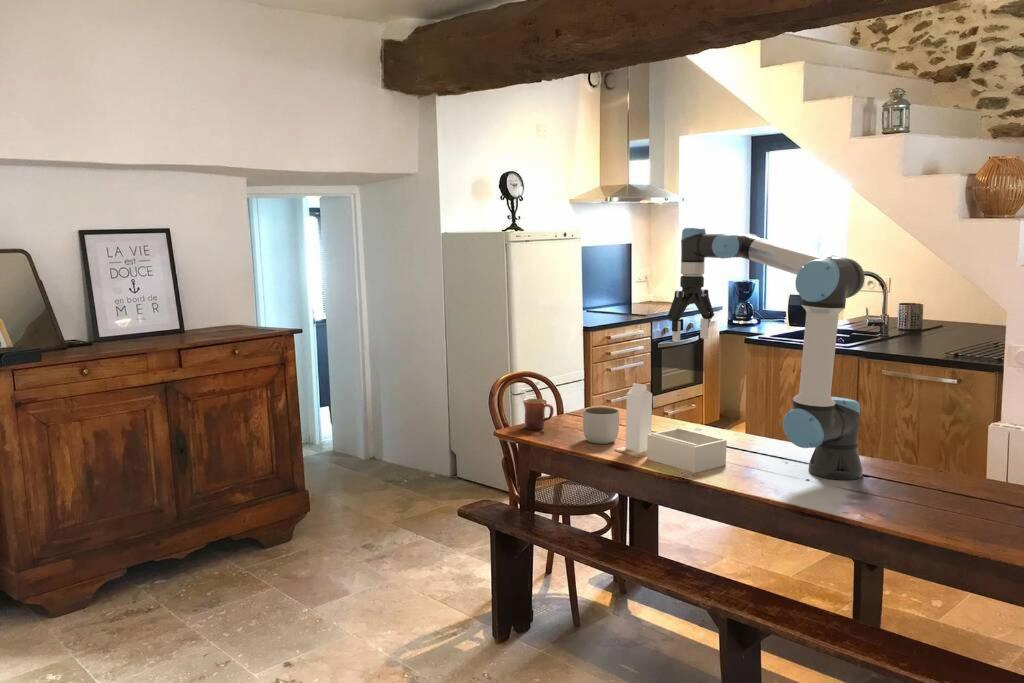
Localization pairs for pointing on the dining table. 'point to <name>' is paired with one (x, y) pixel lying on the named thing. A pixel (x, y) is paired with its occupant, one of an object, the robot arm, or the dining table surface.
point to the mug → (536, 413)
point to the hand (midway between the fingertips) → (690, 339)
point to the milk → (638, 418)
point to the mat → (631, 452)
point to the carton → (686, 449)
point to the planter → (601, 424)
